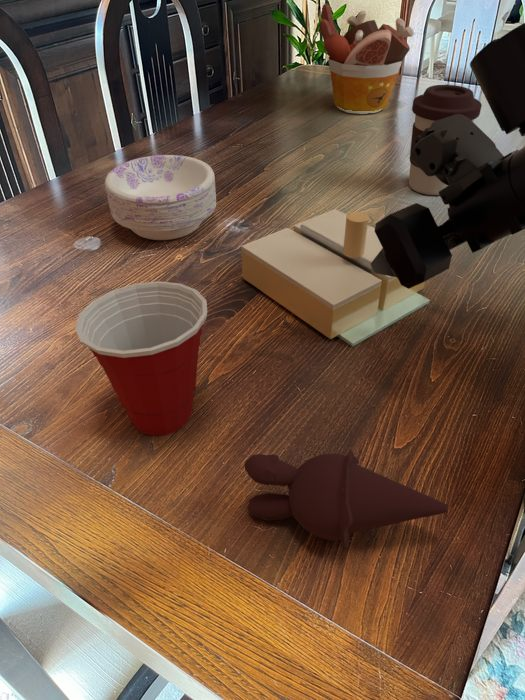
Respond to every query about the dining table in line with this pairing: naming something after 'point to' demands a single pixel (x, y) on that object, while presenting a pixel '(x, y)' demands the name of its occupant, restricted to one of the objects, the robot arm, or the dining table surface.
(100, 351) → the plastic cup
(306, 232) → the slicer
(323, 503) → the icecream
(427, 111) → the coffee cup
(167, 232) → the paper bowls
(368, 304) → the slotted wooden block
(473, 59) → the robot arm
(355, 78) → the bucket of meat
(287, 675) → the dining table surface
